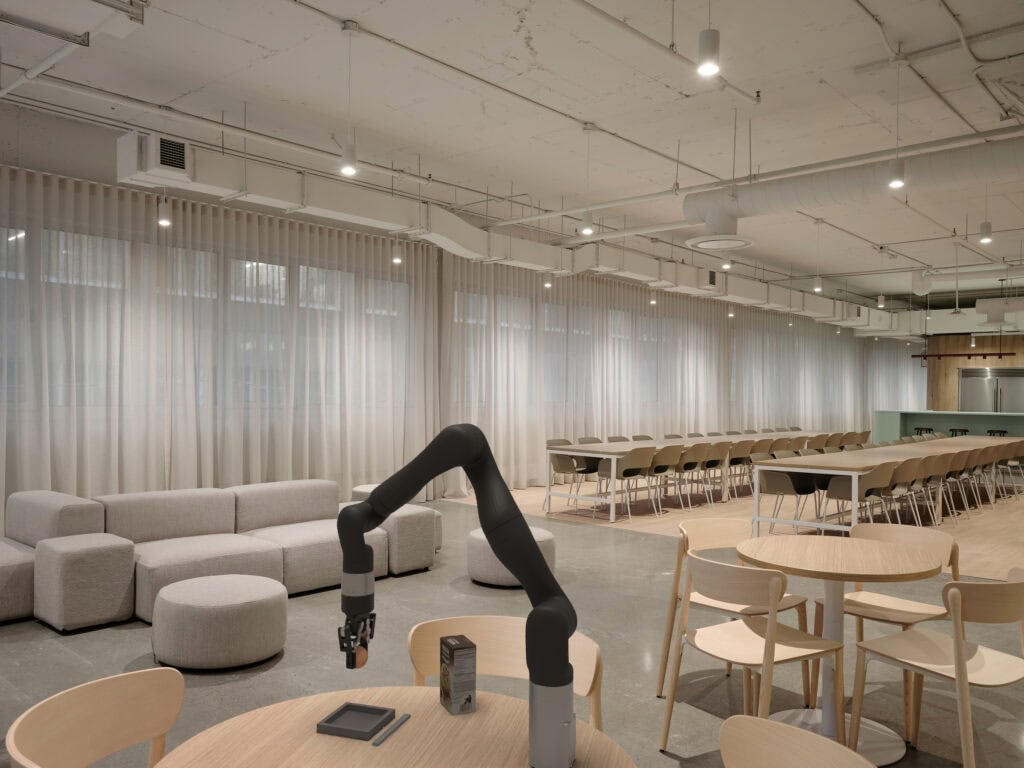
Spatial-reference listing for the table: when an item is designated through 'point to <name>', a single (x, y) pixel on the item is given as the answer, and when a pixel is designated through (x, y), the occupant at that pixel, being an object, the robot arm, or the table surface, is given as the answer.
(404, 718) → the distance line
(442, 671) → the coffee box
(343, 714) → the tray
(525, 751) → the table surface
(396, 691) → the table surface
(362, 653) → the ball
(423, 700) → the table surface
